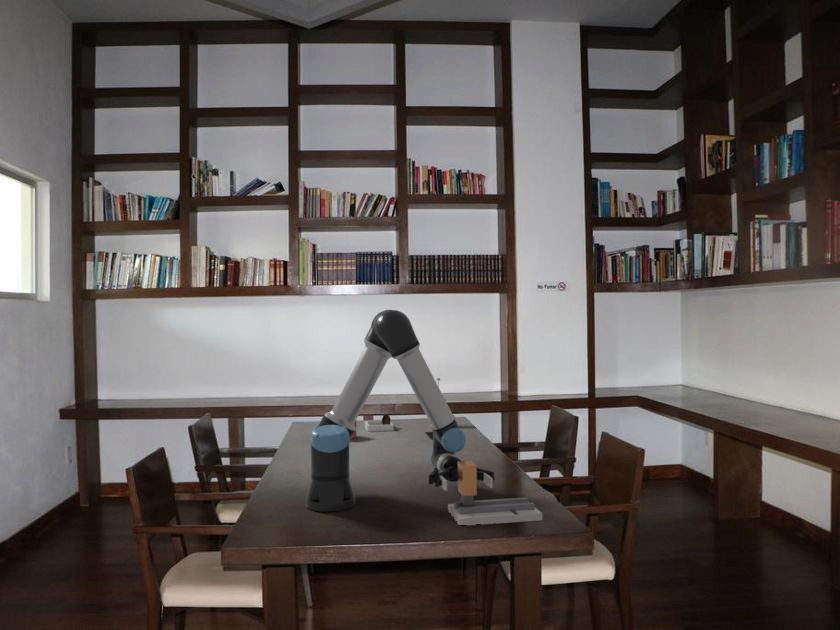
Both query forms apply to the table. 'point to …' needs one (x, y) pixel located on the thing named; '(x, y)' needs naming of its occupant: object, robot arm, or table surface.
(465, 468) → the fader
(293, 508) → the table surface
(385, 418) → the compass
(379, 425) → the watch dish
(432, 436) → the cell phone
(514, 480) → the table surface
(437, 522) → the table surface
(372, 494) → the table surface
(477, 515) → the fader console
